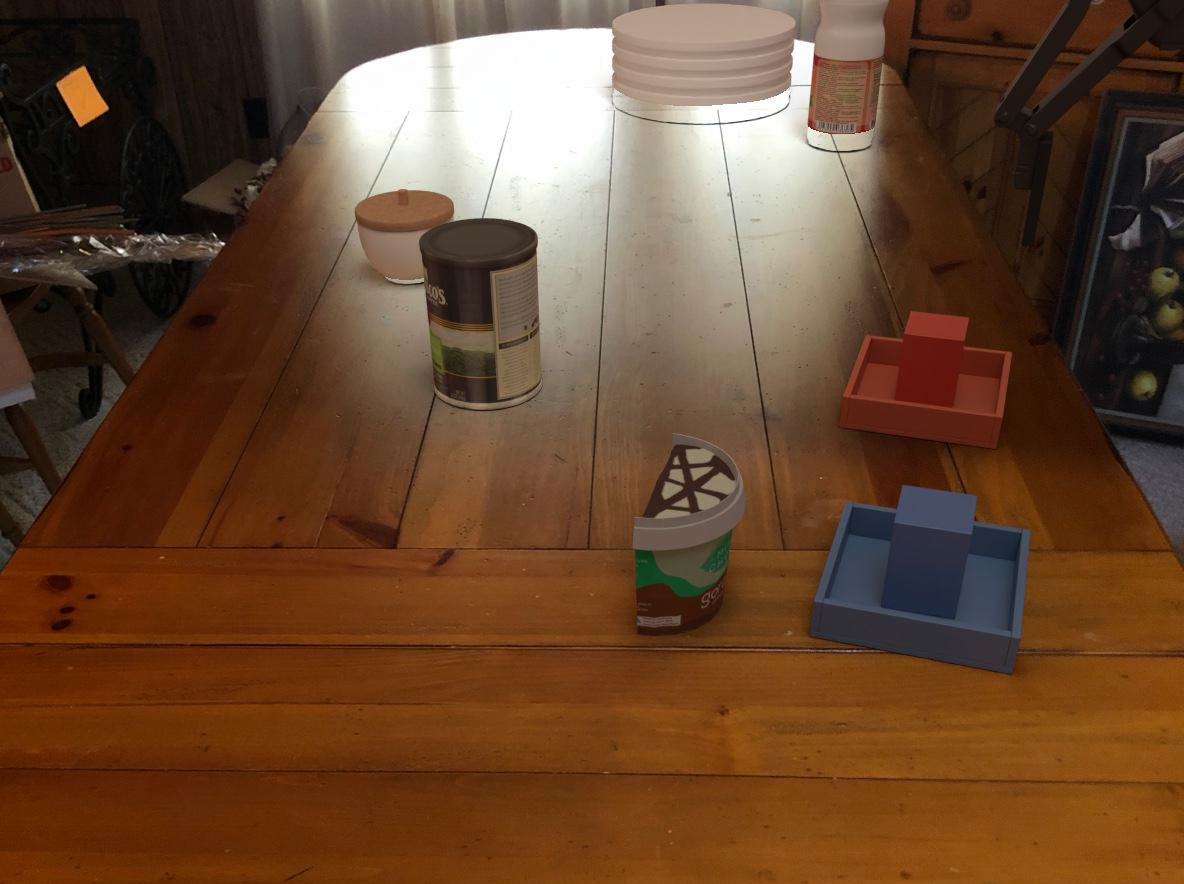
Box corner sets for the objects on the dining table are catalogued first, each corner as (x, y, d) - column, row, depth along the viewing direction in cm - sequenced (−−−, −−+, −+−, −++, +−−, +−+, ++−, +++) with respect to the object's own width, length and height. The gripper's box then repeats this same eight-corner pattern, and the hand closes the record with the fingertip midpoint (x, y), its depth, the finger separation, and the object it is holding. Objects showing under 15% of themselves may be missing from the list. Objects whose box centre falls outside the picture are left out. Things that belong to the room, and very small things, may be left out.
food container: (721, 661, 81) (730, 535, 75) (631, 646, 82) (632, 521, 76) (752, 559, 90) (762, 439, 84) (671, 547, 92) (674, 429, 86)
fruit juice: (828, 156, 168) (850, -73, 152) (793, 139, 175) (811, -82, 159) (886, 148, 171) (914, -79, 155) (849, 131, 178) (872, -87, 162)
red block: (956, 390, 110) (969, 317, 106) (951, 415, 106) (964, 340, 102) (900, 382, 112) (911, 310, 107) (893, 407, 108) (903, 333, 104)
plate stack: (824, 95, 194) (831, 17, 187) (718, 135, 178) (722, 51, 171) (685, 70, 209) (687, -4, 203) (576, 104, 193) (574, 25, 186)
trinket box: (345, 272, 137) (333, 189, 132) (425, 250, 143) (417, 168, 137) (395, 301, 130) (385, 214, 125) (478, 276, 136) (471, 191, 130)
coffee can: (443, 417, 109) (428, 265, 101) (426, 369, 117) (411, 224, 109) (555, 402, 111) (549, 251, 102) (531, 355, 119) (524, 212, 111)
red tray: (1006, 381, 112) (1012, 351, 111) (996, 449, 102) (1002, 417, 101) (862, 363, 116) (865, 334, 114) (838, 427, 106) (842, 396, 104)
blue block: (960, 579, 87) (977, 495, 83) (954, 619, 83) (972, 533, 79) (889, 567, 88) (902, 484, 84) (880, 607, 84) (893, 521, 80)
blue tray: (1022, 564, 89) (1030, 529, 87) (1012, 674, 79) (1021, 638, 77) (841, 534, 93) (845, 500, 91) (809, 636, 83) (813, 601, 81)
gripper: (986, -129, 66) (934, 251, 79) (1516, -131, 60) (1367, 286, 72) (995, -143, 72) (944, 213, 85) (1479, -146, 65) (1346, 242, 78)
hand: (1138, 247), depth 78 cm, fingers open, 13 cm apart
